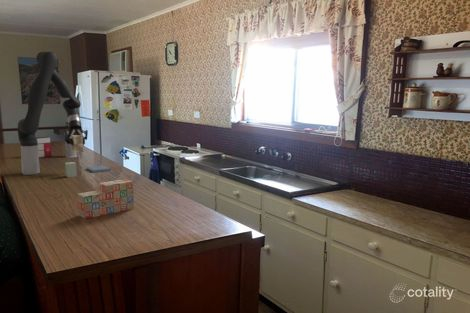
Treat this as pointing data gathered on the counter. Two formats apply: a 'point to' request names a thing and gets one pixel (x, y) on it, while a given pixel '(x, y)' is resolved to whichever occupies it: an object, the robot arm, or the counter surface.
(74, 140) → the birch block
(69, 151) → the glass holder
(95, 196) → the stack of blocks
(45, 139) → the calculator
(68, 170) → the sage block
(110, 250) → the counter surface
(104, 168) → the slate board
